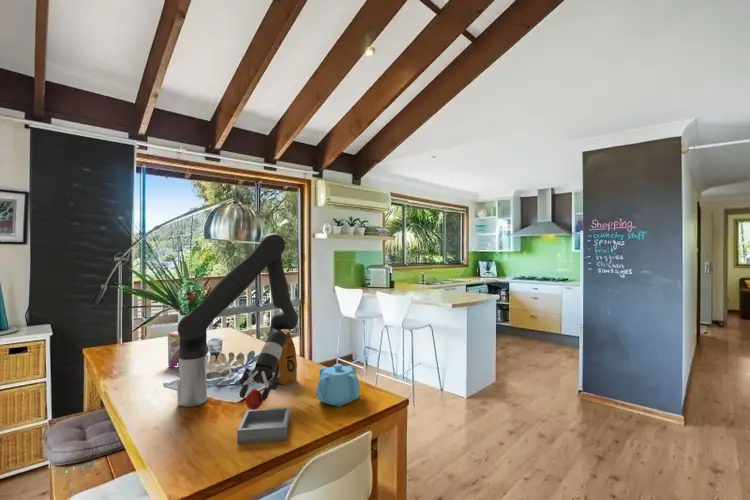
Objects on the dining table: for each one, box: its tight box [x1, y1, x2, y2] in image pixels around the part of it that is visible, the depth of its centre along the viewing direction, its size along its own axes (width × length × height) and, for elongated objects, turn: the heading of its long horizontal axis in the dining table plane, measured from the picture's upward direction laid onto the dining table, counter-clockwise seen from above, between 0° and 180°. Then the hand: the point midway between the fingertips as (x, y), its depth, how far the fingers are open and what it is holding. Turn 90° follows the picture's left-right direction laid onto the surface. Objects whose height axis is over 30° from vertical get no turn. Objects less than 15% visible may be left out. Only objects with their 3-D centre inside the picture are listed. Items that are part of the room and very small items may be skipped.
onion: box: [245, 387, 264, 410], centre depth 136 cm, size 6×6×8 cm
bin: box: [236, 406, 291, 445], centre depth 121 cm, size 14×14×4 cm
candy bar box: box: [167, 331, 180, 366], centre depth 185 cm, size 11×5×16 cm, turn 71°
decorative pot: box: [316, 363, 361, 408], centre depth 144 cm, size 16×16×14 cm
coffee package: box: [269, 330, 298, 386], centre depth 164 cm, size 10×12×22 cm
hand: (252, 398), depth 134 cm, fingers open, 8 cm apart
